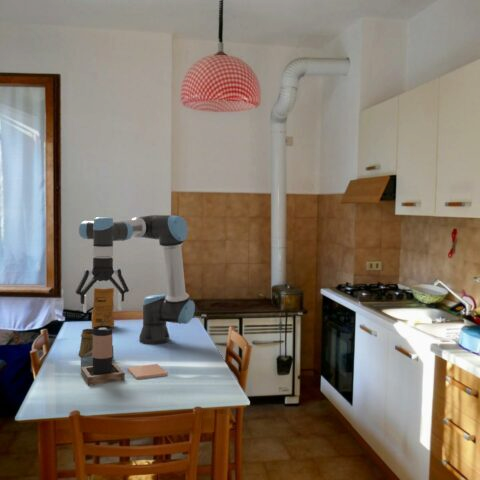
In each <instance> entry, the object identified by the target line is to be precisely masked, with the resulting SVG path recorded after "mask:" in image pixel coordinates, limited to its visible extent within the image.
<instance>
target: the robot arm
mask: <svg viewBox="0 0 480 480" xmlns="http://www.w3.org/2000/svg"><path fill="white" fill-rule="evenodd" d="M188 233H189V228H188V225H187V222H186V219H184V218H183V217H182V216H179V215H173V214H170V215H168V214H166V215H165V214H164V215H163V214H162V215H161V214H160V215H159V214H157V215H156V214H151V215H144V216H137V217H133V218H132V219H116V220H115V219H114V218H112V217H95V218H94V219H93V220H84V221H82V222H80V224H79V227H78V234H79V236H80V237H81V238H82V239H86V240H93V242H92V243H93V245H92V246H93V250H92V255H93V257H92V270H90V269H85V270H84V272H83V276H82V278H81V280H80V282H79V284H78V286H77V288H76V290H75V294H77V295H79V296H80V304H81V305H82V312H83V313H85V314H86V313H87V308H88V307H87V300H88V299H87V295H86V294H87V293H88V292H89V291H90V289H91V288H92V287H93V286H94V284H95V283H97V281H98V282H103V281H104V282H108V281H110V282H111V284H112V285H113V286H114V287H115V288H116V289H117V291H118V294H117V310H118V311H122V308H123V307H122V306H123V305H122V302H124V301H125V293H128V292H129V291H130V289H129V287H128V285H127V283H126V281H125V279H124V277H123V274H122V270H121V269H120V268H115V269H114V258H113V255H114V242H118V241H119V242H121V241H123V242H125V241H127V240H129V239H131V238H132V237H134V238H137V239H138V238H141V239H143V238H144V239H150V240H158V241H159V242H158V243H159V246H160V247H162V249H163V258H164V259H163V260H164V269H165V279H166V285H167V286H166V287H167V294H166V293H165V294H164V293H163V294H152V295H147V296H145V297H144V298H143V301H142V302H143V303H142V326H141V327H142V328H141V331H140V334H139V338H138V339H139V340H138V341H139V342H140V343H141V344H146V345H159V344H160V345H161V344H166V343H168V342H170V333H169V330H168V327H167V322H168V323H172V324H179V325H181V324H182V325H184V324H185V325H186V324H189V323H190V322H191V320H192V319H193V317H194V315H195V311H196V310H195V309H196V305H195V302H194V300H191V299H190V294H189V293H187V292H186V285H185V283H186V281H185V273H184V260H183V251H182V245H183V244H184V243H185V240H186V239H187V237H188ZM91 274H92V276H93V277H92V278H91V279H90V281H89V282H88V283H87V284H86V282H87V280H88V278H89V276H91ZM114 274H115V275H116V276H117V278H118V280H119V282H120V284H121V286H122V287H121V286H120V284H118V282H117V281H116V280H115V279H114V277H112V276H113V275H114ZM85 284H86V285H85Z"/></svg>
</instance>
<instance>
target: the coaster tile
mask: <svg viewBox="0 0 480 480" xmlns="http://www.w3.org/2000/svg"><path fill="white" fill-rule="evenodd" d="M126 369H127V372H129V373H130V375H132V377H134V379H135V380H142V379H149V378H157V377H163V376H168V375H169V374H168V371H166V370H165V369H164V368H163V367H161V365H159V364H158V363H155V364H146V365H145V364H144V365H139V366H138V365H137V366H130V367H129V366H128V367H127V368H126Z"/></svg>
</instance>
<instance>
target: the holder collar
mask: <svg viewBox="0 0 480 480" xmlns="http://www.w3.org/2000/svg"><path fill="white" fill-rule="evenodd" d="M125 374H126V373H125V371H124V370H123V369H122V368H121V367H120V366H119V365H118V364H117V363H116V362H112V373H110V374H102V375H94V376H93V366H87V367H81V366H80V375H81V377H82V378H83V379H84V382H85V383H86V384H87V385H88V386H93V385H101V384H107V383H116V382H117V383H118V382H123V381H126V380H125V379H126V378H125V377H126V375H125Z"/></svg>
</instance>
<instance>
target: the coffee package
mask: <svg viewBox="0 0 480 480" xmlns="http://www.w3.org/2000/svg"><path fill="white" fill-rule="evenodd" d="M114 293H115V288H114V287H111V288H109V287H108V288H97V287H94V289H93V308H92V311H91V329H93V327H96V326H100V325H101V324H102V323H103V321H104V320H105V319H106V317H107V316H109V318H108V319H107V320H106V322H105V323H104V325H103V326H111V327H112V329H113V328H114V326H115V318H114V305H115V304H114V297H115V296H114Z"/></svg>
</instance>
